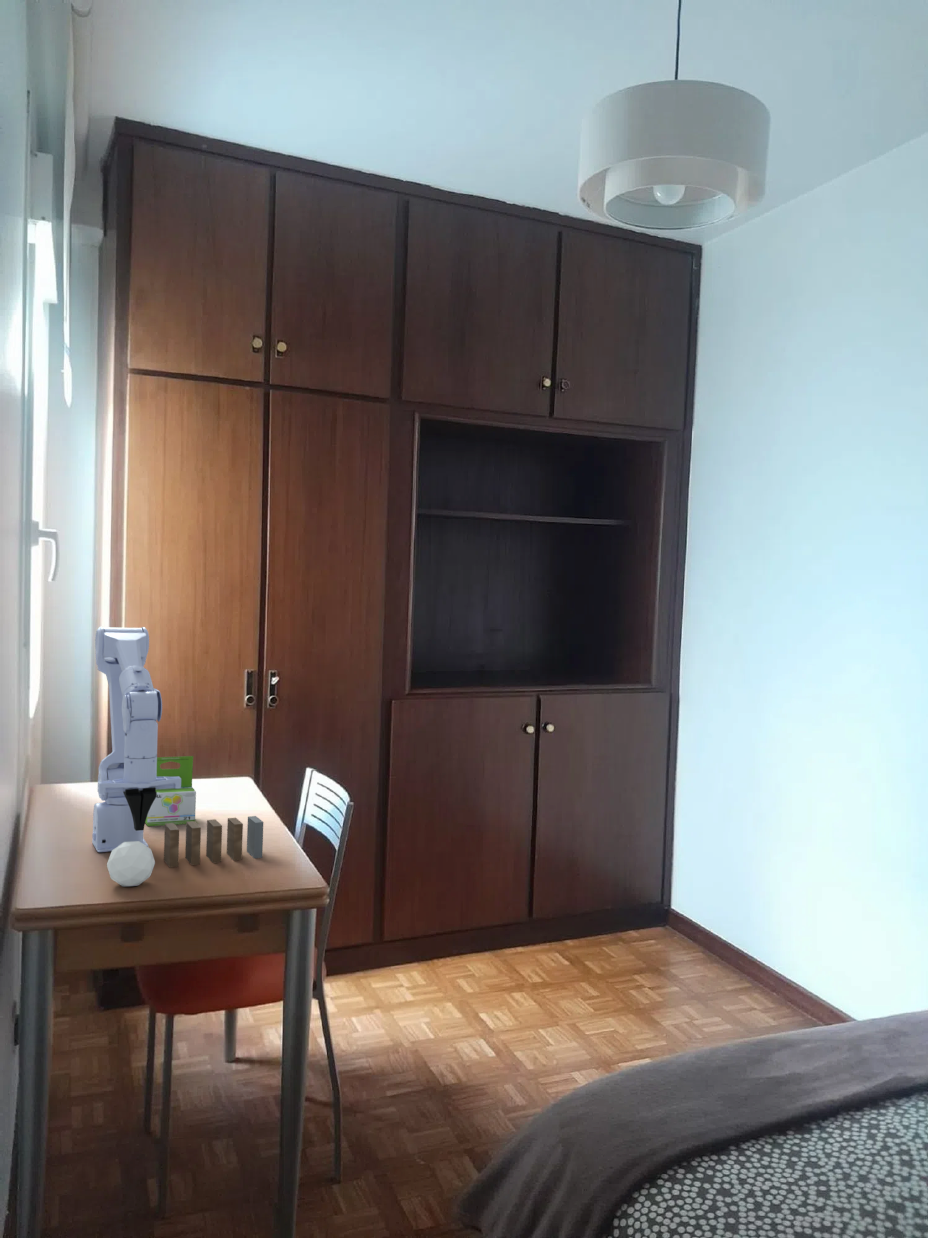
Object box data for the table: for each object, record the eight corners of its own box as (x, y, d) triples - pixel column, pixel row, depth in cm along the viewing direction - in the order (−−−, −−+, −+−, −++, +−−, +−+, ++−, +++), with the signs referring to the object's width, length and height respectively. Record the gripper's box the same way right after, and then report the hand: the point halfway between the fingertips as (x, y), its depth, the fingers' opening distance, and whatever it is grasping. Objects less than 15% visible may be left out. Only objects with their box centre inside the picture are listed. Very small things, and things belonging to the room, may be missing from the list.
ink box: (146, 827, 205) (147, 762, 205) (143, 820, 210) (145, 757, 210) (195, 823, 210) (197, 760, 209) (192, 817, 215) (193, 755, 214)
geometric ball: (142, 899, 168) (169, 866, 167) (103, 893, 163) (130, 858, 162) (131, 868, 174) (157, 836, 172) (93, 860, 168) (119, 827, 167)
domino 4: (233, 860, 184) (234, 824, 184) (226, 853, 188) (227, 818, 188) (241, 859, 185) (242, 823, 185) (234, 852, 189) (235, 817, 189)
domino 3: (212, 863, 182) (213, 826, 182) (206, 855, 186) (207, 820, 186) (221, 862, 183) (222, 825, 183) (214, 855, 187) (215, 819, 187)
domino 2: (191, 865, 180) (192, 828, 180) (185, 858, 185) (186, 821, 184) (199, 864, 181) (200, 827, 181) (193, 857, 185) (194, 821, 185)
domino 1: (169, 867, 178) (170, 830, 178) (163, 860, 183) (164, 823, 182) (178, 866, 179) (179, 829, 179) (172, 859, 183) (173, 823, 183)
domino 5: (254, 850, 191) (255, 816, 191) (262, 857, 187) (263, 822, 186) (246, 851, 190) (247, 816, 190) (254, 858, 186) (255, 822, 186)
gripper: (102, 762, 170) (100, 838, 171) (185, 757, 177) (183, 830, 178) (96, 755, 176) (94, 828, 177) (177, 751, 183) (175, 821, 184)
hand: (138, 829), depth 178 cm, fingers closed
